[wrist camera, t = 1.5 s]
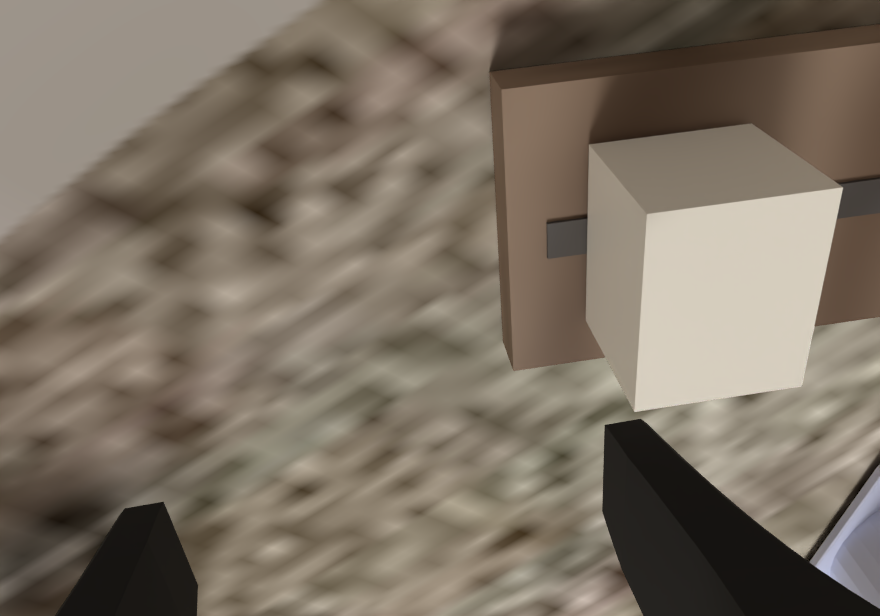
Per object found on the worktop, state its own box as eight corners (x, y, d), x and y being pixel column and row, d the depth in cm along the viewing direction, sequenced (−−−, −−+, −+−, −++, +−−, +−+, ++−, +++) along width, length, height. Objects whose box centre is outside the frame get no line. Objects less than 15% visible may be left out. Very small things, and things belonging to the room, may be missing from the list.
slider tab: (751, 123, 19) (843, 187, 16) (728, 299, 21) (801, 386, 18) (588, 144, 19) (647, 214, 15) (585, 320, 21) (634, 412, 18)
